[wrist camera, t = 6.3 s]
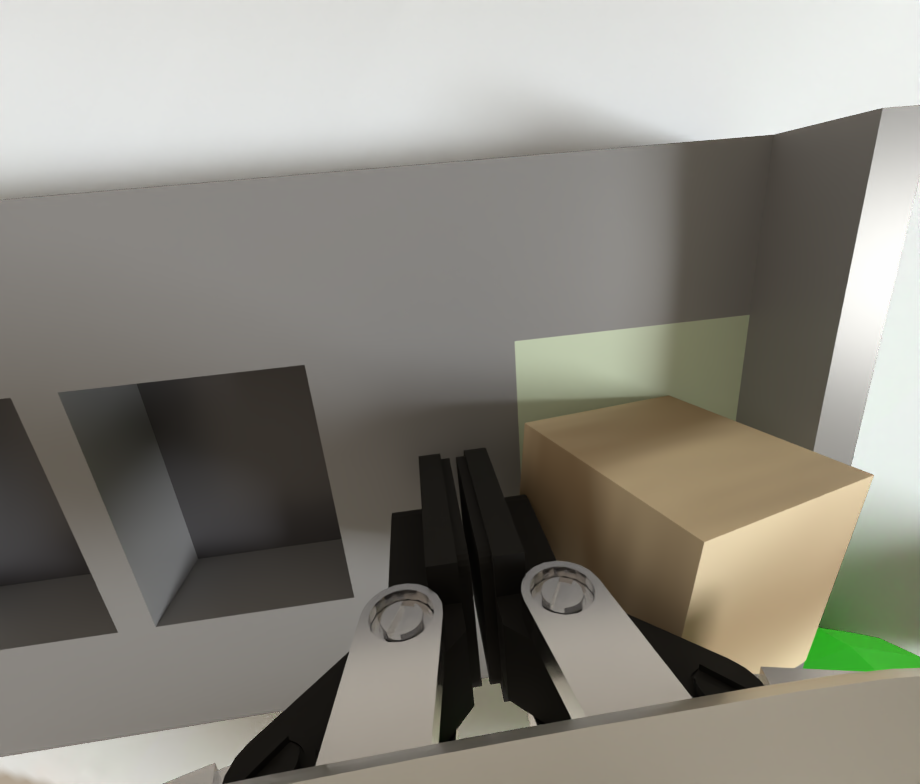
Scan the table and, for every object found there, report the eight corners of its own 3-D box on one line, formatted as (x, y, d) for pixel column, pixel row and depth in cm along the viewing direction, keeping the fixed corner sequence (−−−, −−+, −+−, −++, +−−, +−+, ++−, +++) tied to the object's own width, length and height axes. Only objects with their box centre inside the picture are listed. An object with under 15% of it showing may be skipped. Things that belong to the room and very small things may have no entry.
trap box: (-242, 234, 11) (-784, 242, 6) (728, 151, 13) (936, 104, 8) (16, 675, 17) (-161, 878, 11) (684, 573, 18) (792, 710, 13)
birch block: (524, 422, 10) (704, 541, 6) (669, 395, 12) (874, 474, 8) (513, 585, 12) (651, 758, 8) (642, 538, 14) (805, 661, 10)
